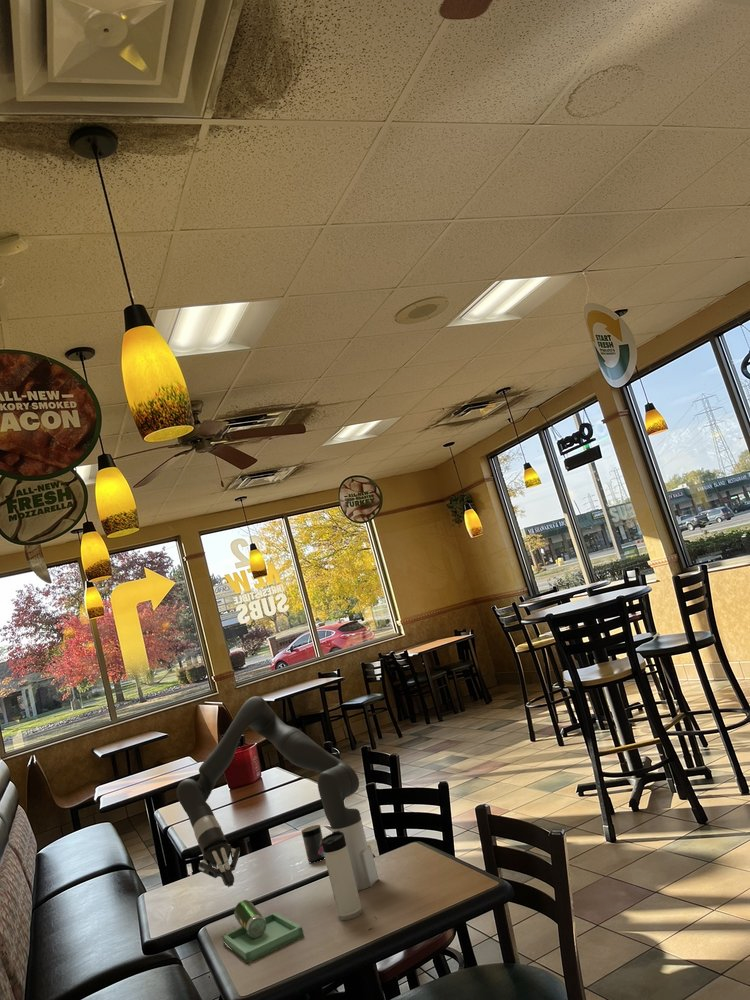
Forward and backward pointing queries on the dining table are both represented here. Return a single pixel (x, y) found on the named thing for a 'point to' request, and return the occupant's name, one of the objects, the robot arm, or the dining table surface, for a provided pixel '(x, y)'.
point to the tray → (263, 938)
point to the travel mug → (341, 876)
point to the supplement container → (313, 843)
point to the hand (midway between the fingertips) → (230, 884)
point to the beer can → (250, 919)
